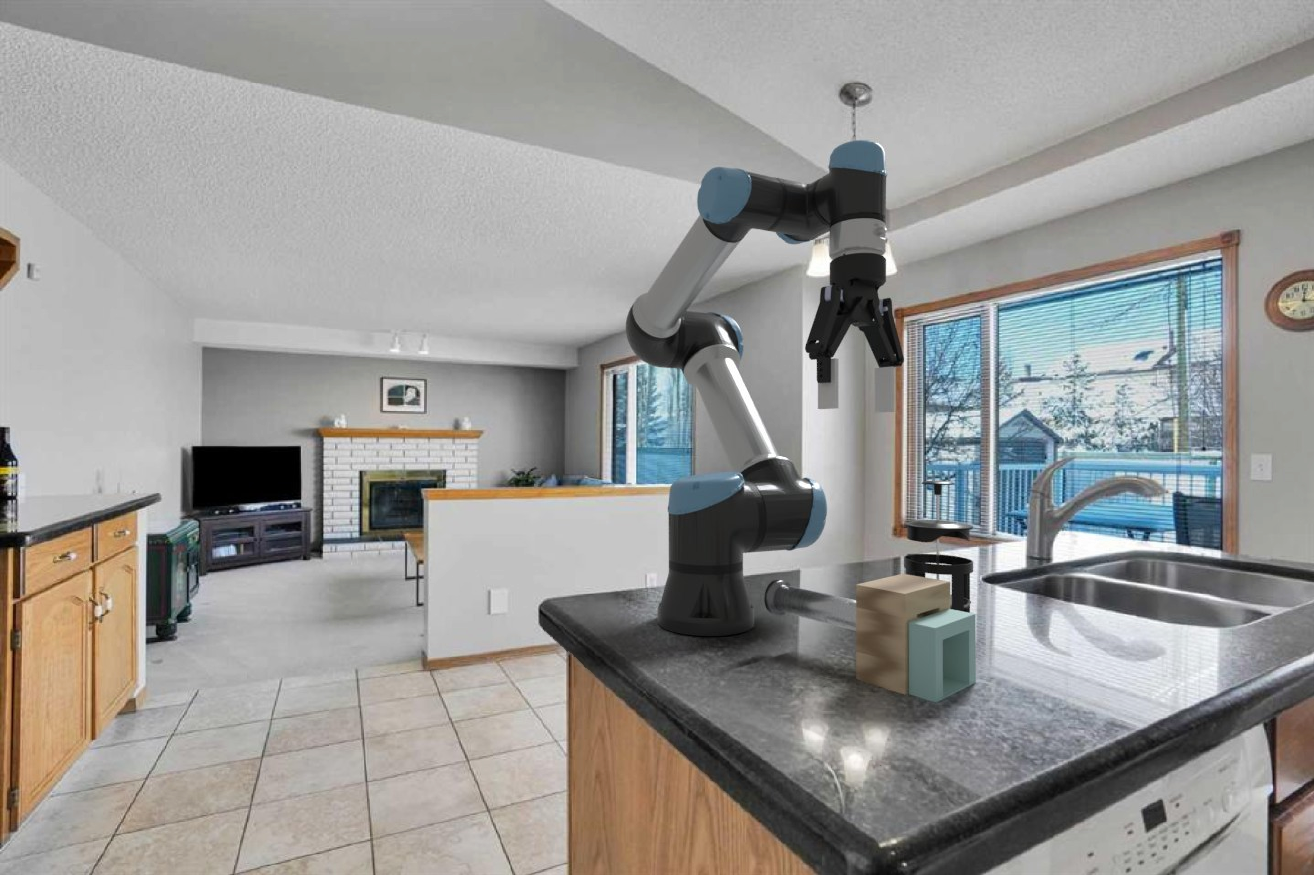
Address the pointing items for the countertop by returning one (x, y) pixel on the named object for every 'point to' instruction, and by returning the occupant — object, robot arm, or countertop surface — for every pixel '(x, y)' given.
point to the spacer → (942, 654)
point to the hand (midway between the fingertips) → (857, 410)
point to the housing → (892, 625)
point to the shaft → (811, 605)
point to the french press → (957, 565)
